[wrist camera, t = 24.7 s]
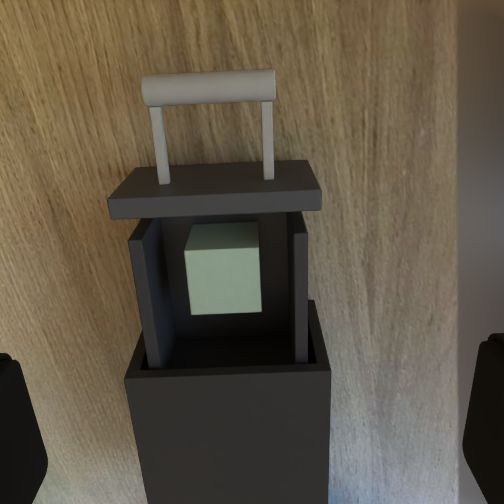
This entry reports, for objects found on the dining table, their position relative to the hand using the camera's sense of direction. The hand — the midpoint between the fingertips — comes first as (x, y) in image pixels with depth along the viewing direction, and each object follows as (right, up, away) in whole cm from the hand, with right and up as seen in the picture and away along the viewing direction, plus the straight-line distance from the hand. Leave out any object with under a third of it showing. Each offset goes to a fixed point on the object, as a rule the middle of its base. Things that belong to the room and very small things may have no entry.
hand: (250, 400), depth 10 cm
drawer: (-2, +5, +23) cm, 24 cm away
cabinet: (-1, -7, +30) cm, 31 cm away
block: (-2, +3, +23) cm, 23 cm away
